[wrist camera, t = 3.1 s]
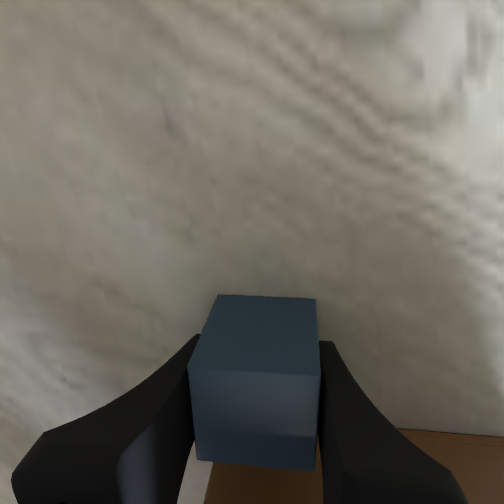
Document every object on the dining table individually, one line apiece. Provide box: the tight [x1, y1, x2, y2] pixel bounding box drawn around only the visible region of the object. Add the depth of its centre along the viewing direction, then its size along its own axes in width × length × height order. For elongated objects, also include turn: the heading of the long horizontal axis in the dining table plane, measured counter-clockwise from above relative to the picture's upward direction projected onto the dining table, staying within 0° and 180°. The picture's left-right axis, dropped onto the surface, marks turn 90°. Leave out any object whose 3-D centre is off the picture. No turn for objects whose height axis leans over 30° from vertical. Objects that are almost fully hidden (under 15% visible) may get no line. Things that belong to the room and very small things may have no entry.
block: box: [187, 295, 321, 472], centre depth 14 cm, size 4×4×4 cm
